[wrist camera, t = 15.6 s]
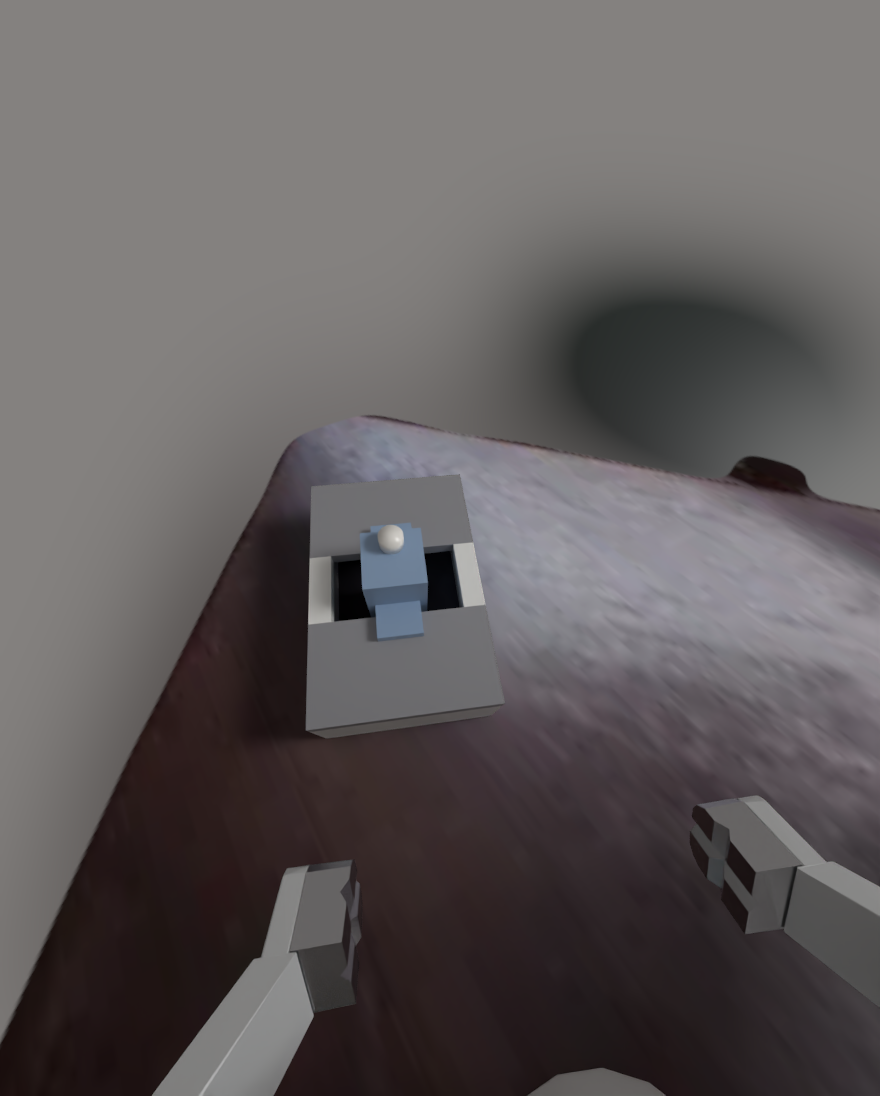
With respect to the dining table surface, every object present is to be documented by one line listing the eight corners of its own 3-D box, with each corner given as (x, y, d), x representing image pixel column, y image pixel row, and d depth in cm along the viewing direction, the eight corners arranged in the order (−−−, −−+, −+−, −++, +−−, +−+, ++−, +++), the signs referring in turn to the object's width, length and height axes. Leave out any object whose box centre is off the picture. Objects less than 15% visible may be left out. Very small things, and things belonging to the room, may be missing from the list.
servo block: (418, 554, 35) (416, 491, 27) (430, 653, 31) (432, 611, 23) (371, 559, 35) (356, 496, 27) (377, 659, 31) (361, 619, 23)
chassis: (454, 514, 39) (459, 474, 34) (490, 715, 31) (504, 703, 25) (326, 526, 38) (311, 486, 33) (326, 738, 29) (305, 730, 24)
